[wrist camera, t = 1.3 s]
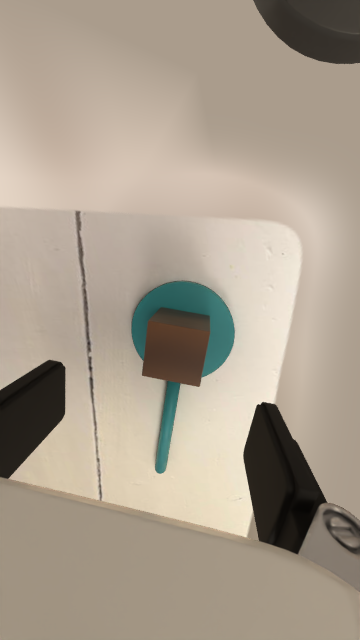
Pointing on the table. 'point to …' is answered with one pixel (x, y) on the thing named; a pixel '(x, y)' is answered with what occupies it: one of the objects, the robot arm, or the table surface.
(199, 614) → the robot arm
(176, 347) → the block
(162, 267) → the table surface
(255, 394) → the table surface
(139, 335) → the teal lollipop paddle
